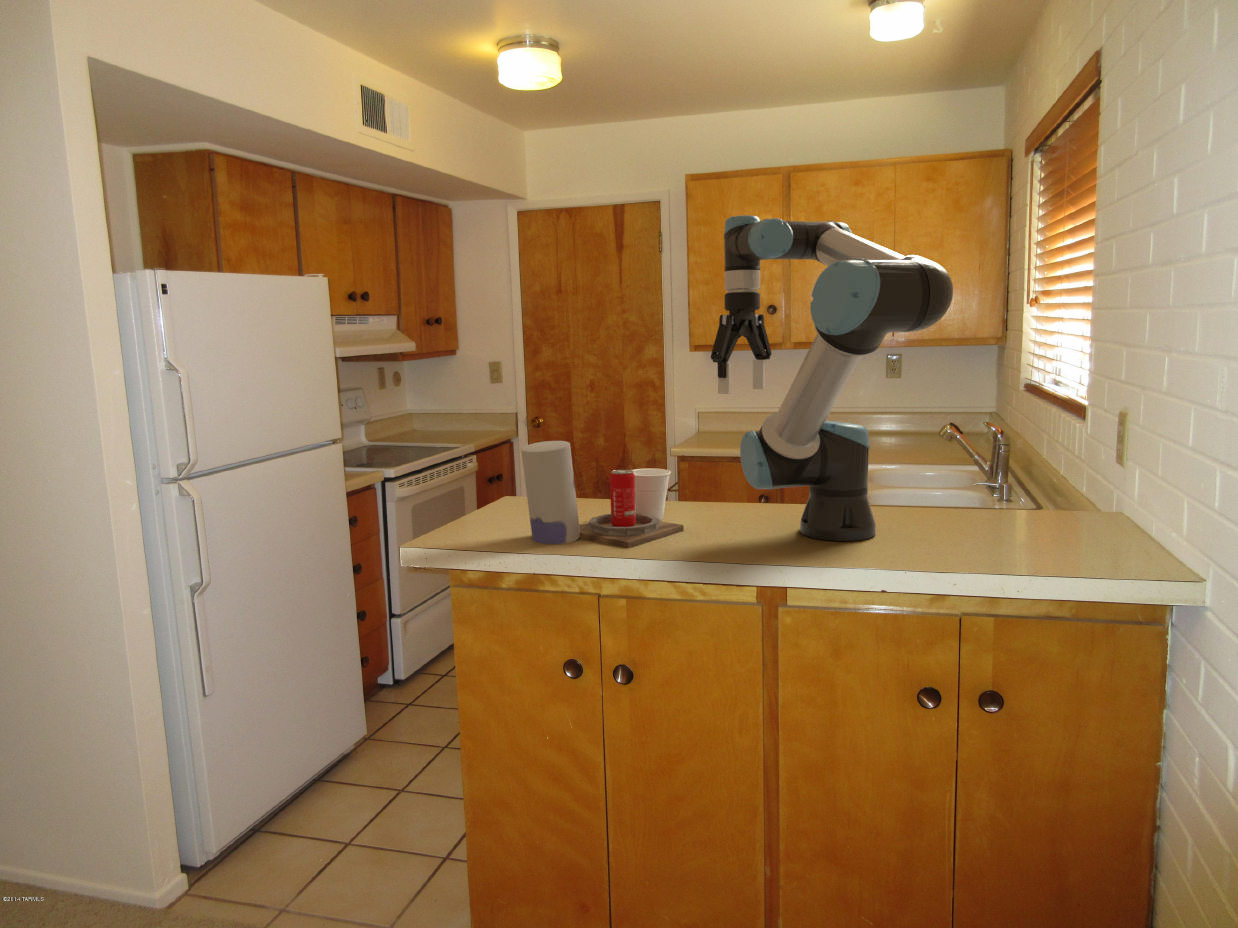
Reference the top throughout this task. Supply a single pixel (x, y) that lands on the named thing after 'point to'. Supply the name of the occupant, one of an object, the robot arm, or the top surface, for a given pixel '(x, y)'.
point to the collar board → (632, 538)
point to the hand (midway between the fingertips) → (742, 391)
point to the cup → (651, 491)
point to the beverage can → (622, 498)
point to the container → (551, 492)
